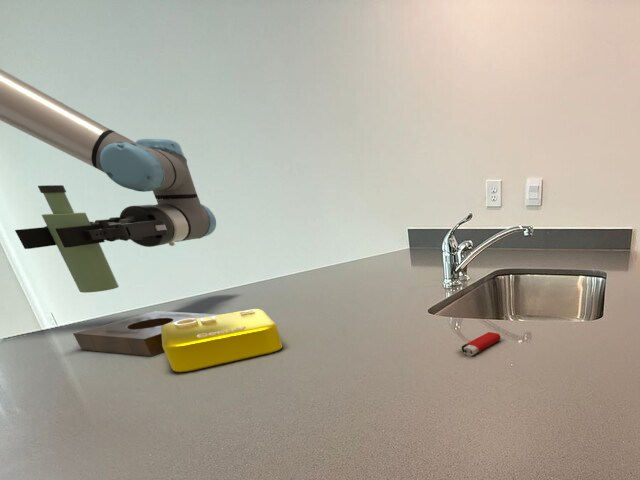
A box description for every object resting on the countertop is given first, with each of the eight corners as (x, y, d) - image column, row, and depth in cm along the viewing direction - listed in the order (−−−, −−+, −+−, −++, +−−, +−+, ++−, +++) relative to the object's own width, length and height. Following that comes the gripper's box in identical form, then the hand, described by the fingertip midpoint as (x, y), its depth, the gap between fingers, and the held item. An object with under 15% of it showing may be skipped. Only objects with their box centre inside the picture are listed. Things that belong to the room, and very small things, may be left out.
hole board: (81, 349, 70) (72, 333, 69) (161, 325, 82) (155, 310, 81) (151, 356, 67) (143, 339, 65) (225, 329, 79) (219, 314, 77)
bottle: (72, 292, 68) (18, 186, 61) (105, 285, 72) (58, 185, 65) (93, 293, 67) (41, 185, 60) (126, 286, 71) (81, 184, 64)
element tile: (173, 375, 59) (160, 344, 57) (170, 348, 70) (158, 321, 68) (285, 350, 67) (277, 322, 65) (267, 329, 78) (260, 304, 76)
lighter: (500, 333, 68) (472, 349, 62) (500, 341, 69) (473, 356, 63) (486, 331, 70) (458, 346, 64) (487, 338, 70) (458, 353, 64)
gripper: (207, 243, 84) (116, 262, 63) (116, 246, 83) (-7, 266, 62) (193, 203, 81) (93, 209, 60) (98, 206, 80) (-37, 213, 59)
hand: (42, 238), depth 61 cm, fingers closed on bottle, 5 cm apart
